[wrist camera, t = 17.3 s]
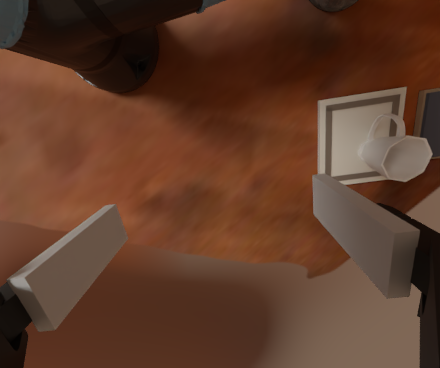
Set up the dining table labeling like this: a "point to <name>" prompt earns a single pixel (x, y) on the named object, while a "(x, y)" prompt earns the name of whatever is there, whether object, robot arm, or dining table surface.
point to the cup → (395, 152)
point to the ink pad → (429, 119)
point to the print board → (354, 132)
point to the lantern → (332, 4)
